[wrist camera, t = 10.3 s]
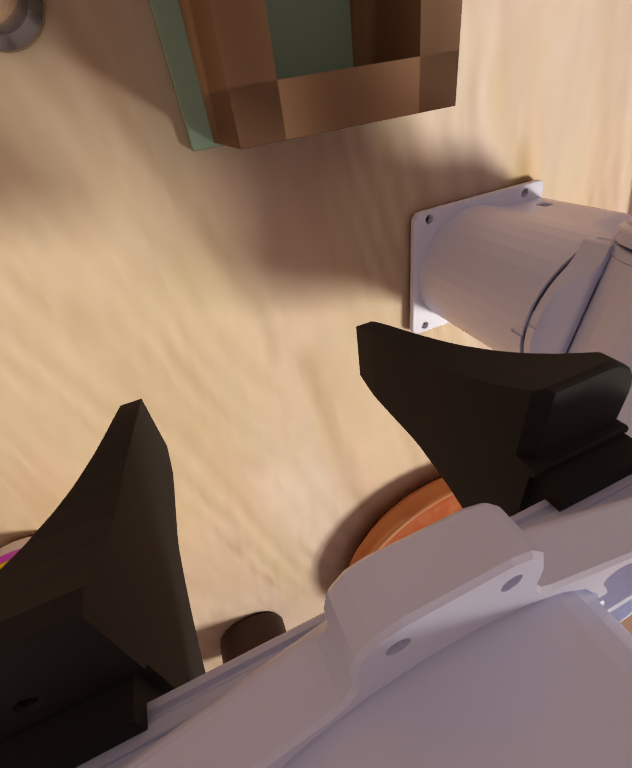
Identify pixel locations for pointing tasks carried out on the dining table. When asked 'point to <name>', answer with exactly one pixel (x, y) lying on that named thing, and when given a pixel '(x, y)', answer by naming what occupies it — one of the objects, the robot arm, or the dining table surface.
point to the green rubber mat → (289, 44)
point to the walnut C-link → (327, 89)
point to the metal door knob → (20, 23)
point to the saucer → (409, 517)
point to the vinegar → (250, 634)
